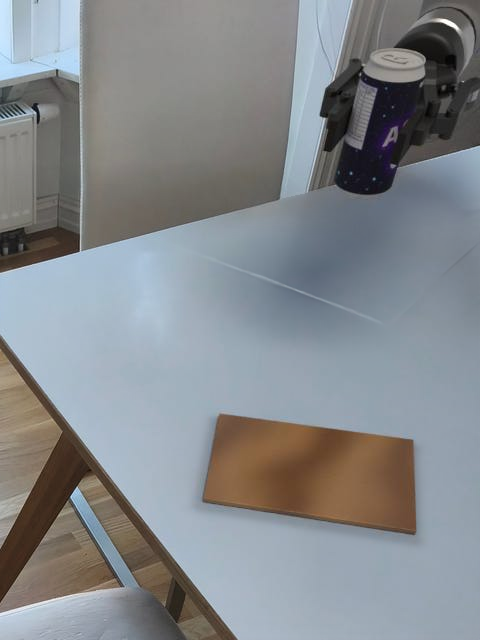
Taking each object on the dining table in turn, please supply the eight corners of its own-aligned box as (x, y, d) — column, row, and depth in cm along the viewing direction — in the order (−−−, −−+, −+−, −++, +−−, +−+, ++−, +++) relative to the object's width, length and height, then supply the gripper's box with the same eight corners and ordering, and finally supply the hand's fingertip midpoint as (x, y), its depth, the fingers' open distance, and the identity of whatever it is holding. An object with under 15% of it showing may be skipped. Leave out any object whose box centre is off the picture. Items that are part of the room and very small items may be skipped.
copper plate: (412, 443, 92) (413, 439, 91) (414, 534, 83) (416, 530, 83) (218, 416, 96) (219, 413, 95) (202, 501, 87) (203, 498, 87)
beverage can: (369, 209, 88) (409, 73, 78) (320, 191, 90) (353, 58, 81) (400, 190, 90) (442, 56, 81) (351, 173, 93) (387, 42, 84)
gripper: (503, 115, 94) (451, 204, 82) (332, 86, 101) (260, 165, 89) (534, 33, 89) (483, 116, 76) (350, 8, 95) (276, 81, 83)
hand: (364, 142), depth 83 cm, fingers closed on beverage can, 6 cm apart
